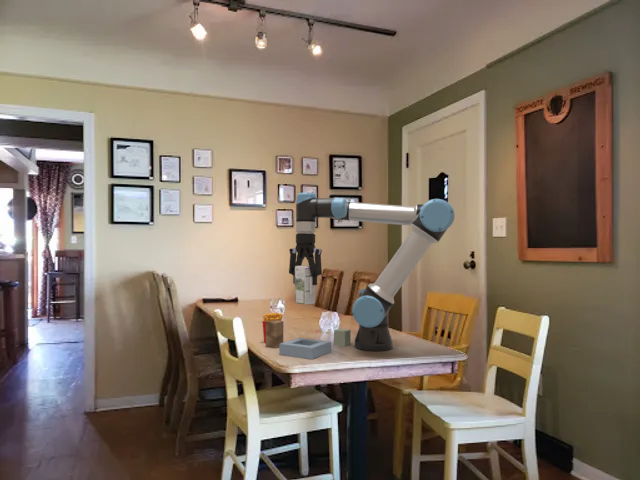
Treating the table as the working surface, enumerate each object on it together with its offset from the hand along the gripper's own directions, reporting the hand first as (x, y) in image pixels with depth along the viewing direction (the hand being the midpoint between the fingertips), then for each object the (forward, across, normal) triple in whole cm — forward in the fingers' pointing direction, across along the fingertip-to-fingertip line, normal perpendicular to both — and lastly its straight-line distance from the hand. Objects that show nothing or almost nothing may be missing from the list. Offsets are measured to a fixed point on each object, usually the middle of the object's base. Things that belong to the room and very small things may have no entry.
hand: (304, 293), depth 185 cm
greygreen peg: (+22, -6, -18) cm, 29 cm away
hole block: (+22, -3, +4) cm, 22 cm away
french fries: (+22, +20, -6) cm, 31 cm away
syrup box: (+4, 0, 0) cm, 4 cm away
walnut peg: (+22, +14, +1) cm, 26 cm away
